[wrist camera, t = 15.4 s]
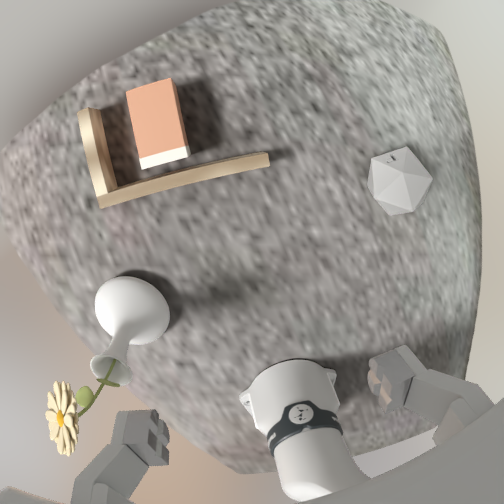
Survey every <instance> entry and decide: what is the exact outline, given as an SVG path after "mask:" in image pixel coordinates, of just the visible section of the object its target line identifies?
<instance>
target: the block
mask: <svg viewBox="0 0 504 504" xmlns="http://www.w3.org/2000/svg"><path fill="white" fill-rule="evenodd" d="M126 96H127V101H128V106H129V111H130V116H131V121H132V126H133V131H134V135H135V140H136V144H137V149H138V153H139V157H140V159H139V160H140V164H141V168H142V169H146V168H149V167H153V166H156V165H160V164H163V163H167V162H171V161H174V160H178V159H182V158H186V157H189V156H190V155H191V153H190V148H189V145H188V141H187V137H186V132H185V127H184V123H183V118H182V113H181V108H180V103H179V98H178V93H177V88H176V85H175V84H174V82H173V80H172V79H171V78H168V79H164V80H161V81H157V82H154V83H151V84H147V85H144V86H141V87H138V88H135V89H132V90H129V91H126Z"/></svg>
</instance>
